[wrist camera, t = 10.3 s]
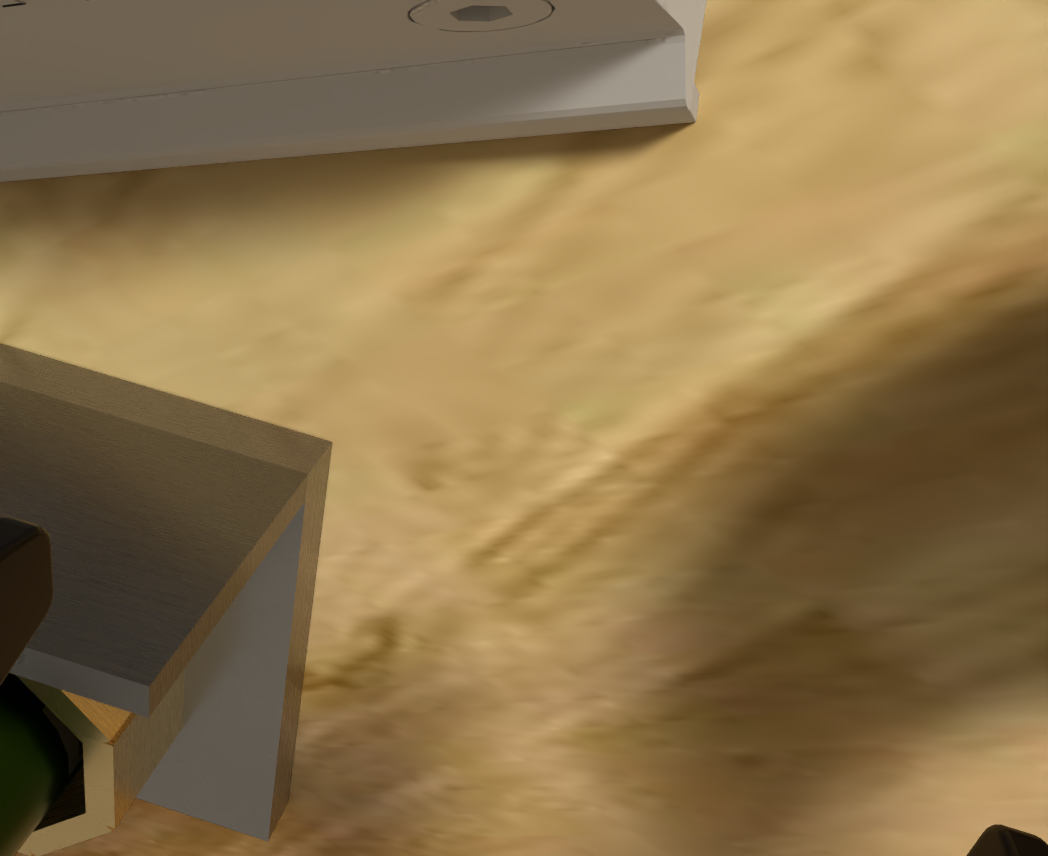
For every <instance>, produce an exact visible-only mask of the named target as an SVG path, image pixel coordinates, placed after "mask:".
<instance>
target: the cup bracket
mask: <svg viewBox="0 0 1048 856" xmlns="http://www.w3.org/2000/svg"><path fill="white" fill-rule="evenodd" d="M331 448H332V442H330V441H327V440H323V439H320V438H316V437H313V436H310V435H306V434H303V433H300V432H296V431H293V430H290V429H286V428H283V427H279V426H276V425H273V424H269V423H266V422H263V421H259V420H256V419H253V418H249V417H246V416H242V415H239V414H236V413H232V412H229V411H226V410H222V409H219V408H216V407H212V406H209V405H205V404H202V403H199V402H195V401H192V400H189V399H185V398H182V397H179V396H175V395H172V394H168V393H165V392H162V391H158V390H155V389H152V388H148V387H145V386H142V385H138V384H135V383H131V382H128V381H125V380H121V379H118V378H115V377H111V376H108V375H105V374H101V373H98V372H94V371H91V370H88V369H84V368H81V367H78V366H74V365H71V364H68V363H64V362H61V361H57V360H54V359H51V358H47V357H44V356H41V355H37V354H34V353H31V352H27V351H24V350H20V349H17V348H14V347H10V346H7V345H4V344H0V517H5V516H7V517H14V518H17V519H20V520H23V521H27V522H30V523H33V524H36V525H39V526H42V527H43V528H45V529H46V530H47V531H48V533H49V535H50V538H51V549H52V566H53V582H54V595H53V600H52V603H51V607H50V609H49V611H48V613H47V615H46V617H45V618H44V620H43V622H42V623H41V625H40V626H39V628H38V629H37V631H36V632H35V634H34V635H33V637H32V638H31V640H30V641H29V643H28V644H27V646H26V647H25V649H24V650H23V652H22V653H21V655H20V656H19V658H18V659H17V661H16V663H15V664H14V666H13V667H12V669H11V670H10V672H9V673H11V674H14V675H16V676H17V677H18V678H19V679H20V680H21V681H22V682H23V683H24V684H25V685H26V686H27V687H28V688H29V689H30V690H31V691H32V692H33V693H34V694H35V695H36V696H37V697H38V698H39V699H40V700H41V701H42V702H43V703H44V704H45V705H46V706H47V707H48V708H49V709H50V710H51V711H52V712H53V713H54V714H55V715H56V716H57V717H58V718H59V719H60V720H61V721H62V722H63V723H64V724H65V725H66V726H67V727H68V729H69V730H70V731H71V732H72V733H73V734H74V735H75V736H76V737H77V738H78V739H79V740H80V741H81V742H82V743H83V762H84V765H83V766H82V767H81V769H80V770H79V771H78V773H77V774H76V775H75V777H74V778H73V779H72V781H71V782H70V783H69V784H68V786H67V787H66V788H65V790H64V791H63V792H62V794H61V795H60V796H59V798H58V799H57V800H56V802H55V803H54V804H53V806H52V807H51V808H50V810H49V811H48V812H47V814H46V815H45V816H44V818H43V819H42V820H41V821H40V823H39V824H38V825H37V827H36V828H35V829H34V831H33V832H32V833H31V835H30V836H29V837H28V839H27V840H26V841H25V843H24V844H23V845H22V847H21V848H20V849H19V851H18V852H19V853H22V854H25V855H28V856H32V855H33V854H34V855H35V856H41V855H44V854H47V853H50V852H53V851H56V850H59V849H62V848H65V847H68V846H71V845H74V844H77V843H80V842H83V841H86V840H89V839H92V838H95V837H98V836H101V835H104V834H107V833H110V832H112V831H113V830H114V828H115V827H116V826H117V824H118V823H119V821H120V820H121V818H122V817H123V816H124V814H125V813H126V811H127V810H128V808H129V807H130V805H131V804H132V802H133V801H134V799H135V798H138V799H141V800H144V801H147V802H150V803H153V804H156V805H159V806H162V807H165V808H168V809H171V810H174V811H177V812H180V813H183V814H186V815H189V816H192V817H195V818H198V819H201V820H204V821H207V822H210V823H213V824H216V825H219V826H222V827H225V828H228V829H231V830H235V831H238V832H241V833H244V834H247V835H250V836H253V837H256V838H259V839H262V840H265V841H269V839H270V837H271V835H272V833H273V831H274V829H275V827H276V825H277V823H278V821H279V819H280V817H281V815H282V813H283V811H284V809H285V807H286V805H287V803H288V799H289V791H290V782H291V774H292V766H293V758H294V750H295V742H296V734H297V725H298V717H299V709H300V701H301V693H302V685H303V676H304V668H305V660H306V652H307V644H308V636H309V627H310V619H311V611H312V603H313V595H314V587H315V579H316V570H317V562H318V554H319V546H320V538H321V530H322V521H323V513H324V505H325V497H326V489H327V481H328V473H329V464H330V456H331Z"/></svg>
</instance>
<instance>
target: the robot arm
mask: <svg viewBox="0 0 1048 856" xmlns="http://www.w3.org/2000/svg"><path fill="white" fill-rule="evenodd" d="M53 595H54V582H53V566H52V549H51V538H50V535H49V533H48V531H47V530H46V529H45V528H43V527H42V526H39V525H36V524H33V523H30V522H27V521H23V520H20V519H17V518H14V517H7V516H5V517H0V685H1V684H2V682H3V681H4V679H5V678H6V676H7V675H8V673H9V672H10V670H11V669H12V667H13V666H14V664H15V663H16V661H17V659H18V658H19V656H20V655H21V653H22V652H23V650H24V649H25V647H26V646H27V644H28V643H29V641H30V640H31V638H32V637H33V635H34V634H35V632H36V631H37V629H38V628H39V626H40V625H41V623H42V622H43V620H44V618H45V617H46V615H47V613H48V611H49V609H50V607H51V603H52V600H53ZM967 856H1048V845H1047V843H1046V842H1045V841H1043V840H1042V839H1041V838H1039V837H1037V836H1035V835H1033V834H1029V833H1026V832H1023V831H1020V830H1017V829H1013V828H1010V827H1007V826H1004V825H996V824H995V825H992V826H990V827H988V828H987V829H986V830H985V831H984V832H983V833H982V835H981V836H980V838H979V839H978V840H977V842H976V843H975V845H974V846H973V847H972V849H971V850H970V851H969V853H968V854H967Z"/></svg>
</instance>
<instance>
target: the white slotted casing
mask: <svg viewBox="0 0 1048 856" xmlns="http://www.w3.org/2000/svg"><path fill="white" fill-rule="evenodd" d="M706 1H707V0H0V182H7V181H19V180H30V179H42V178H54V177H65V176H77V175H88V174H100V173H111V172H123V171H135V170H146V169H158V168H169V167H181V166H193V165H204V164H216V163H227V162H239V161H250V160H262V159H274V158H285V157H297V156H308V155H320V154H331V153H343V152H355V151H366V150H378V149H389V148H401V147H412V146H424V145H436V144H447V143H459V142H470V141H482V140H493V139H505V138H517V137H528V136H540V135H551V134H563V133H575V132H586V131H598V130H609V129H621V128H632V127H644V126H656V125H667V124H679V123H690V122H696V118H697V111H698V103H699V92H698V90H697V87H696V85H695V82H694V80H695V72H696V66H697V59H698V53H699V47H700V40H701V34H702V27H703V21H704V14H705V8H706Z"/></svg>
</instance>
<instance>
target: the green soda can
mask: <svg viewBox="0 0 1048 856" xmlns="http://www.w3.org/2000/svg"><path fill="white" fill-rule="evenodd" d="M83 765H84V762H83V743H82V742H81V741H80V740H79V739H78V738H77V737H76V736H75V735H74V734H73V733H72V732H71V731H70V730H69V729H68V727H67V726H66V725H65V724H64V723H63V722H62V721H61V720H60V719H59V718H58V717H57V716H56V715H55V714H54V713H53V712H52V711H51V710H50V709H49V708H48V707H47V706H46V705H45V704H44V703H43V702H42V701H41V700H40V699H39V698H38V697H37V696H36V695H35V694H34V693H33V692H32V691H31V690H30V689H29V688H28V687H27V686H26V685H25V684H24V683H23V682H22V681H21V680H20V679H19V678H18V677H17V676H16V675H14V674H11V673H8V675H7V676H6V678H5V679H4V681H3V682H2V684H1V685H0V856H15V855H16V853H17V852H18V851H19V849H20V848H21V847H22V845H23V844H24V843H25V841H26V840H27V839H28V837H29V836H30V835H31V833H32V832H33V831H34V829H35V828H36V827H37V825H38V824H39V823H40V821H41V820H42V819H43V818H44V816H45V815H46V814H47V812H48V811H49V810H50V808H51V807H52V806H53V804H54V803H55V802H56V800H57V799H58V798H59V796H60V795H61V794H62V792H63V791H64V790H65V788H66V787H67V786H68V784H69V783H70V782H71V781H72V779H73V778H74V777H75V775H76V774H77V773H78V771H79V770H80V769H81V767H82V766H83Z"/></svg>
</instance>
